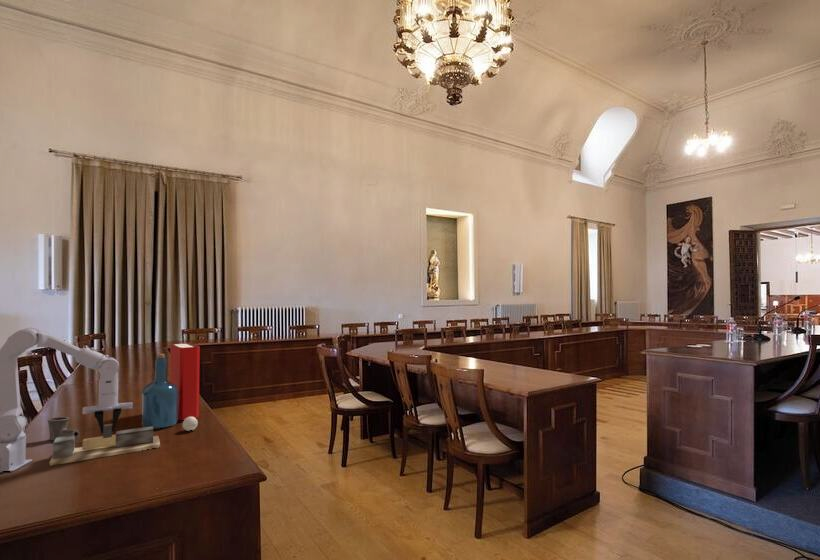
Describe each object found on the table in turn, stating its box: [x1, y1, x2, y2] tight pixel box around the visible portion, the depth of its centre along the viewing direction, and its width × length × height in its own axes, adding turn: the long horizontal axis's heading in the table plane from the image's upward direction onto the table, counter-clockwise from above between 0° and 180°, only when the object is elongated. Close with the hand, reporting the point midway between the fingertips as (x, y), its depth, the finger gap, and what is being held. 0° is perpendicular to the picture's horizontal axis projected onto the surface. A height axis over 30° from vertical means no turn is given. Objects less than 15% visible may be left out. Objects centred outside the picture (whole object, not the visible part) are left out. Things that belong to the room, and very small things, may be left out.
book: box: [169, 341, 201, 421], centre depth 206 cm, size 27×8×32 cm, turn 37°
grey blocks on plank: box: [49, 426, 161, 467], centre depth 156 cm, size 31×12×6 cm, turn 122°
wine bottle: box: [141, 353, 179, 430], centre depth 187 cm, size 14×13×30 cm
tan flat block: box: [81, 423, 116, 450], centre depth 157 cm, size 20×3×7 cm, turn 122°
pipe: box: [47, 416, 81, 442], centre depth 168 cm, size 6×13×8 cm, turn 77°
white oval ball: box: [181, 417, 201, 432], centre depth 179 cm, size 8×6×6 cm
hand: (107, 431), depth 156 cm, fingers closed on tan flat block, 2 cm apart
